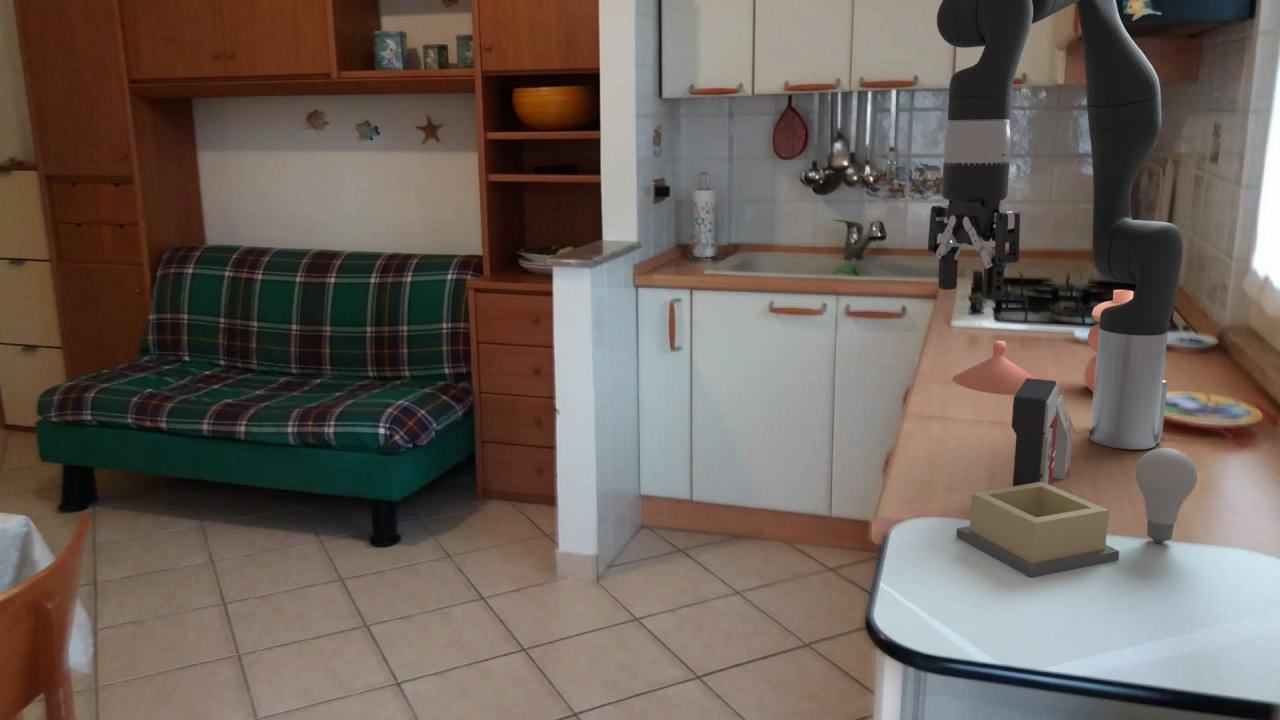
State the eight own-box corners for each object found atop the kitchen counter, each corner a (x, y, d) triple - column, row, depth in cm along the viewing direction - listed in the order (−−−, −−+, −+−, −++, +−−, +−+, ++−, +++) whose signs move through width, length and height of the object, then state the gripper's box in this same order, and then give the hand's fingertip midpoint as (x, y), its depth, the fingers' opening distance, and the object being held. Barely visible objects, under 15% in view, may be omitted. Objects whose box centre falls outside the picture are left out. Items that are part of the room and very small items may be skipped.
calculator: (1042, 522, 122) (1052, 400, 118) (1004, 516, 124) (1013, 396, 120) (1053, 494, 131) (1062, 380, 128) (1018, 489, 133) (1026, 377, 130)
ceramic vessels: (935, 402, 177) (941, 294, 173) (935, 374, 197) (940, 278, 193) (1157, 414, 168) (1169, 301, 164) (1133, 385, 188) (1143, 283, 184)
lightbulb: (1196, 554, 112) (1207, 458, 110) (1136, 550, 113) (1146, 455, 111) (1179, 533, 118) (1189, 442, 115) (1122, 530, 119) (1131, 439, 117)
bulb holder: (1038, 521, 122) (1042, 477, 121) (1118, 559, 111) (1123, 511, 110) (956, 536, 117) (959, 491, 116) (1030, 577, 107) (1034, 527, 105)
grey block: (1034, 475, 138) (1040, 404, 136) (1041, 461, 144) (1046, 393, 142) (1064, 479, 137) (1070, 407, 134) (1069, 465, 142) (1075, 395, 140)
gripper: (1043, 159, 116) (1033, 300, 120) (964, 157, 130) (958, 284, 133) (989, 161, 114) (980, 304, 118) (914, 158, 127) (908, 288, 131)
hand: (968, 293), depth 125 cm, fingers open, 8 cm apart
